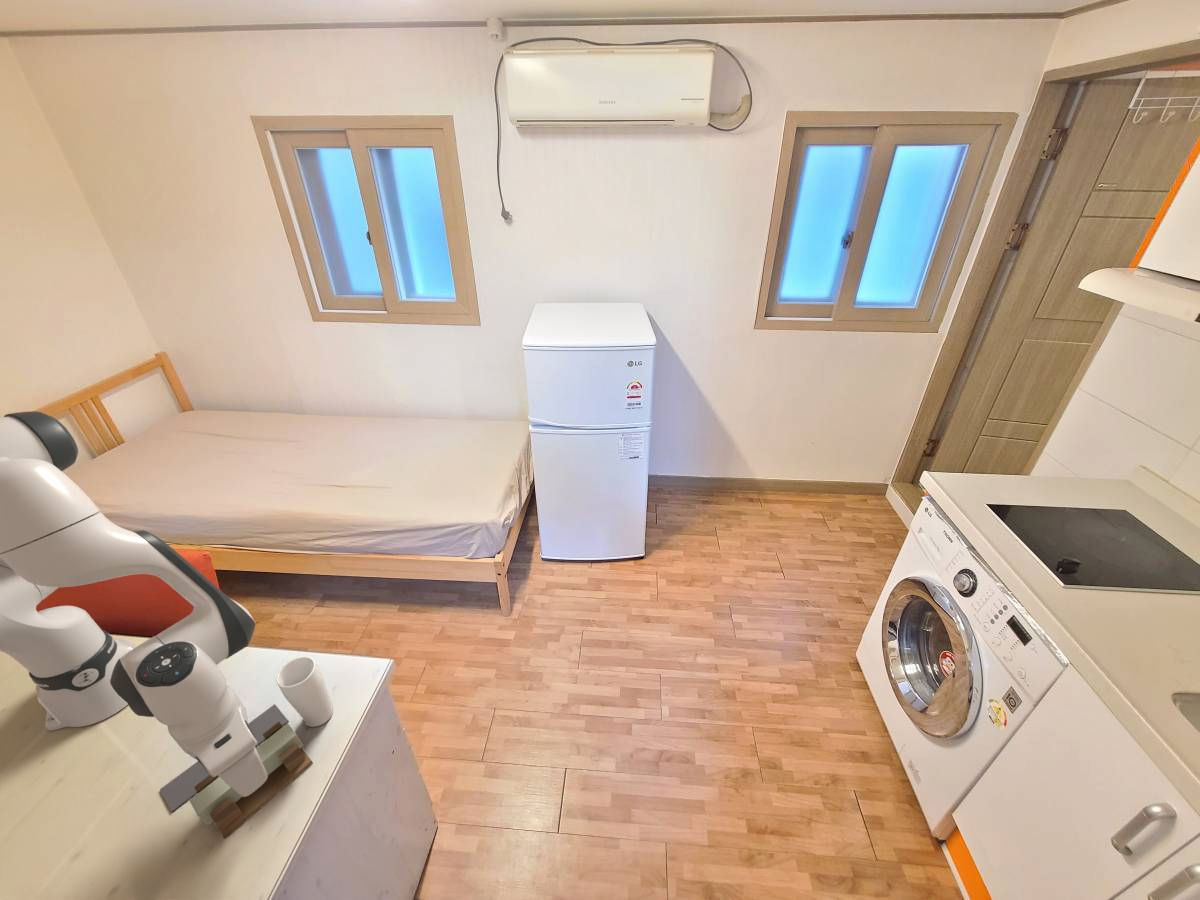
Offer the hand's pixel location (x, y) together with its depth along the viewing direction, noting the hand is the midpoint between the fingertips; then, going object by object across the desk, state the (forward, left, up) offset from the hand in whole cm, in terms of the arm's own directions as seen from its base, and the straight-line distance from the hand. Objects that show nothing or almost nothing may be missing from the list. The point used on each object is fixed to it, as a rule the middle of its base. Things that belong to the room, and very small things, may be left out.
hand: (243, 765), depth 86 cm
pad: (-11, -1, -7) cm, 13 cm away
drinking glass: (-4, +13, -7) cm, 16 cm away
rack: (0, 0, -7) cm, 7 cm away
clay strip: (0, 0, -4) cm, 4 cm away
